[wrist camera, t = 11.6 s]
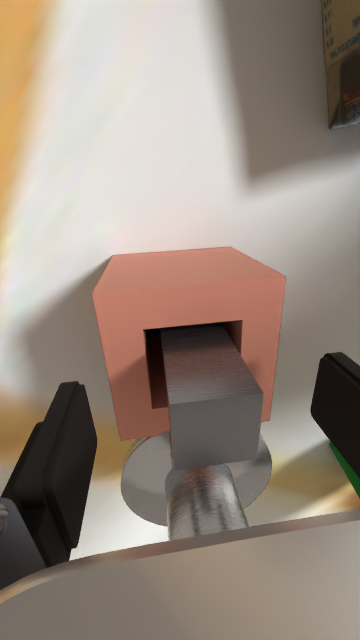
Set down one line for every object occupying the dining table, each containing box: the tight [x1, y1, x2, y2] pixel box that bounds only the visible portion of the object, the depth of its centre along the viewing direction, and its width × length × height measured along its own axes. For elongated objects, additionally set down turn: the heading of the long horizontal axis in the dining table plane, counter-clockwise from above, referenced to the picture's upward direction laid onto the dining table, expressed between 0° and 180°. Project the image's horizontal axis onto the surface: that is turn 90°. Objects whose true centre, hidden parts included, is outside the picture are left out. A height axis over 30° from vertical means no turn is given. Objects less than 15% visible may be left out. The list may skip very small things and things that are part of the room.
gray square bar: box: [159, 322, 264, 470], centre depth 14 cm, size 3×3×12 cm
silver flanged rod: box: [121, 431, 272, 541], centre depth 16 cm, size 9×9×16 cm
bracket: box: [92, 247, 286, 467], centre depth 17 cm, size 8×11×8 cm
